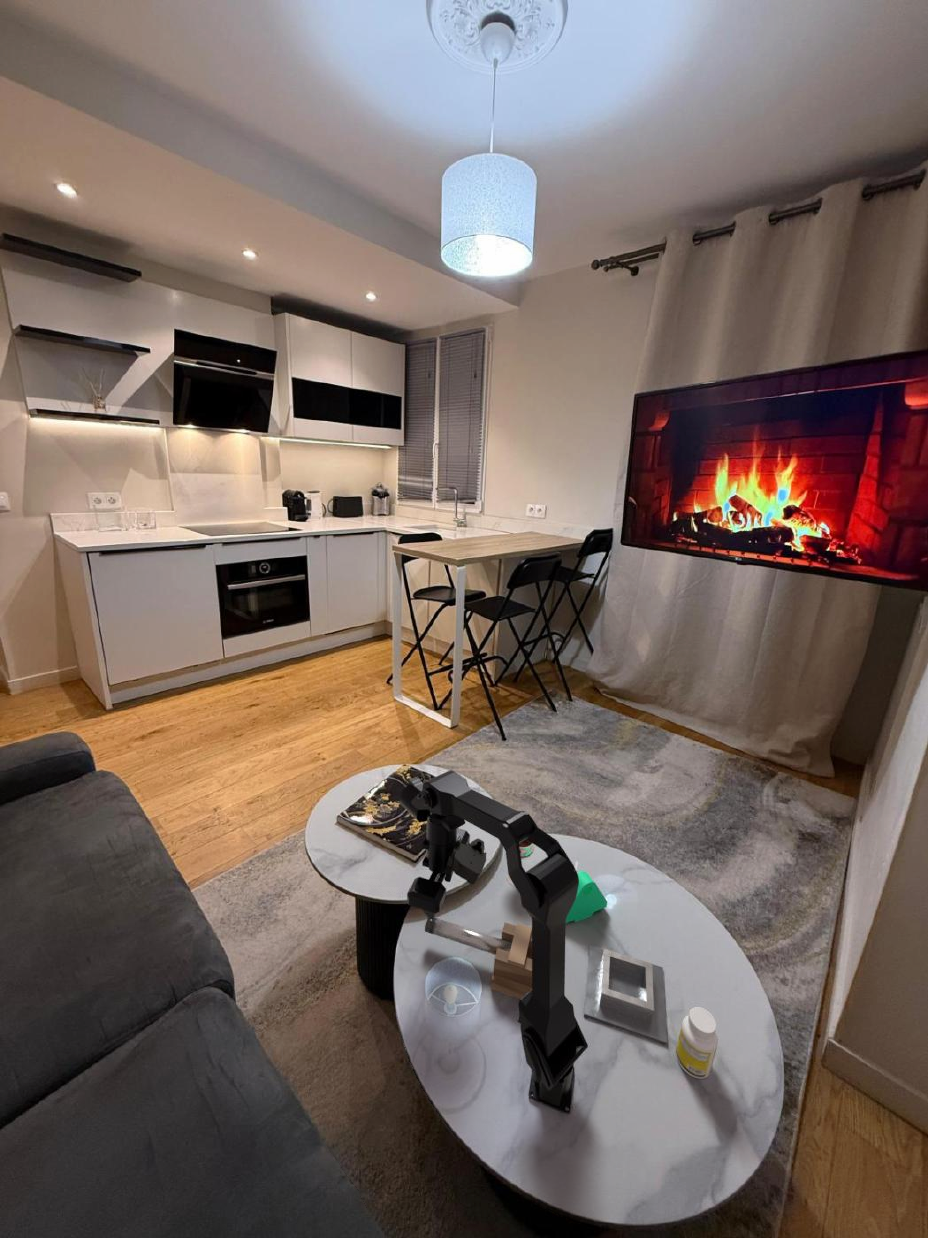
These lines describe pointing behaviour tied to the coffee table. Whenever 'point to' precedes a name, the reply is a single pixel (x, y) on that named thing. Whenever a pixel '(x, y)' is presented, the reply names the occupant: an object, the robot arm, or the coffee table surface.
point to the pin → (466, 936)
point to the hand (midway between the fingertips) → (439, 899)
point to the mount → (514, 962)
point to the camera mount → (586, 899)
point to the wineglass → (523, 854)
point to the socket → (626, 994)
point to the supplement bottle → (697, 1043)
